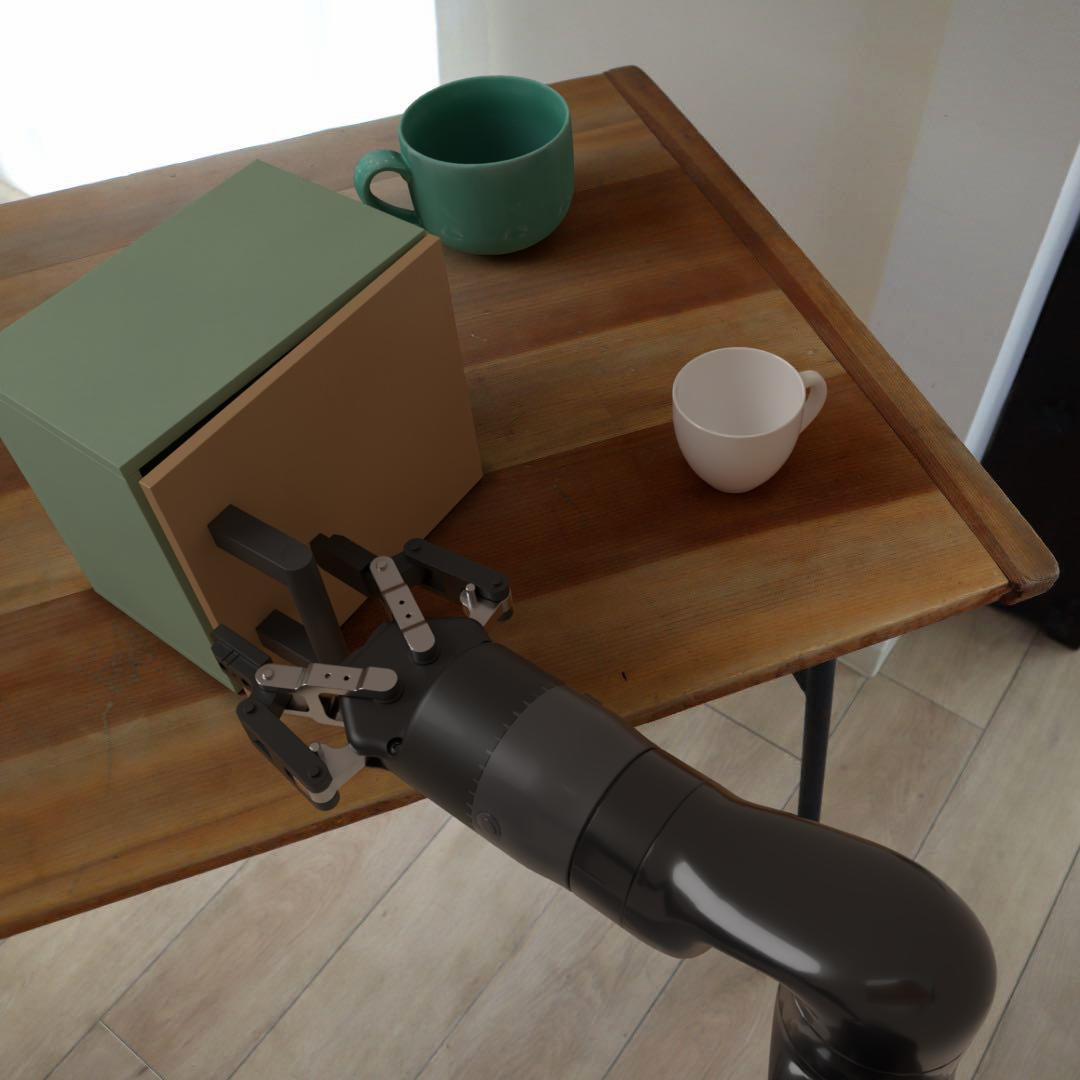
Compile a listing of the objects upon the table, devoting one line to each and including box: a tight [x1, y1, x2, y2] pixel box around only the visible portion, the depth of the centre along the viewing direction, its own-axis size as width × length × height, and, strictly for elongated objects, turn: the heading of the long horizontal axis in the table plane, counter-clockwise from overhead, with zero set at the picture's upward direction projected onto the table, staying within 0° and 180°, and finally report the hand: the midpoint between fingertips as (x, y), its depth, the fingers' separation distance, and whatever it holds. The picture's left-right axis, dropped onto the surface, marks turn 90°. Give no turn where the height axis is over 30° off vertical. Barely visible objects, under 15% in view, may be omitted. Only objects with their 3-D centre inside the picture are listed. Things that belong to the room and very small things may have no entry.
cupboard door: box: [139, 233, 484, 698], centre depth 62 cm, size 7×21×18 cm, turn 145°
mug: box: [353, 74, 575, 256], centre depth 89 cm, size 17×13×10 cm
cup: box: [671, 346, 828, 494], centre depth 72 cm, size 8×10×7 cm
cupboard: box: [0, 158, 427, 695], centre depth 67 cm, size 13×21×19 cm, turn 142°
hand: (270, 592), depth 59 cm, fingers open, 6 cm apart
